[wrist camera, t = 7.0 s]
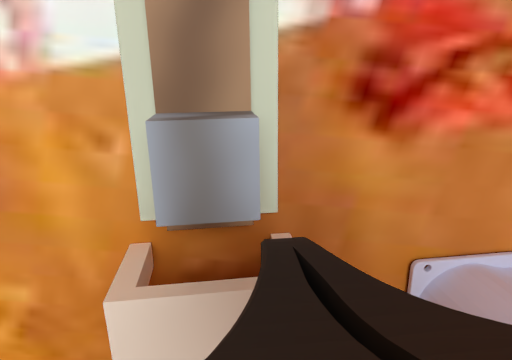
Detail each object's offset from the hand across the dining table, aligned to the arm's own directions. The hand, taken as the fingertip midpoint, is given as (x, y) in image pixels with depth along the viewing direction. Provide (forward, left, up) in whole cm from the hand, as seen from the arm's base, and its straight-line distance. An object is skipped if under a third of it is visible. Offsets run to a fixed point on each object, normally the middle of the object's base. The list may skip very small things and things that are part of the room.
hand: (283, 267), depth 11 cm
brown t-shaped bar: (+2, -6, -10) cm, 12 cm away
